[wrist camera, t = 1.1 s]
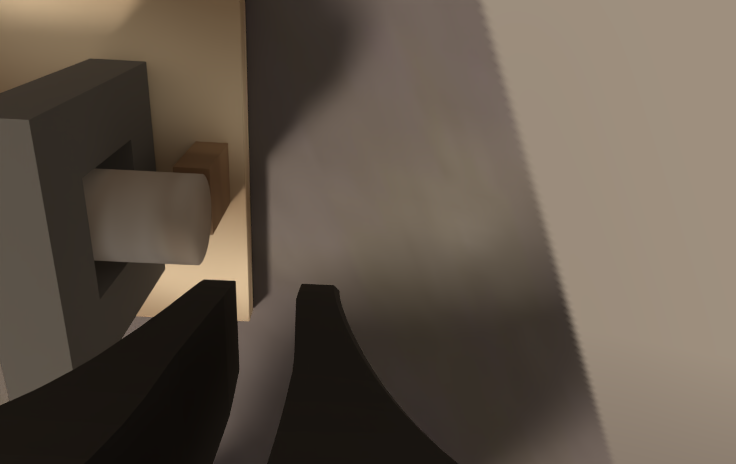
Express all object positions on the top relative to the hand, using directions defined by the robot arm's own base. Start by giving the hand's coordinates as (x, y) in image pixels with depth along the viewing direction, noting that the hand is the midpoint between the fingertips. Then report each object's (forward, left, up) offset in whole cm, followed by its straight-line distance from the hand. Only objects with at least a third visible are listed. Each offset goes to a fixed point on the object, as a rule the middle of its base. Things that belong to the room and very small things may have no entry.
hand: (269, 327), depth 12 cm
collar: (0, +5, -8) cm, 10 cm away
